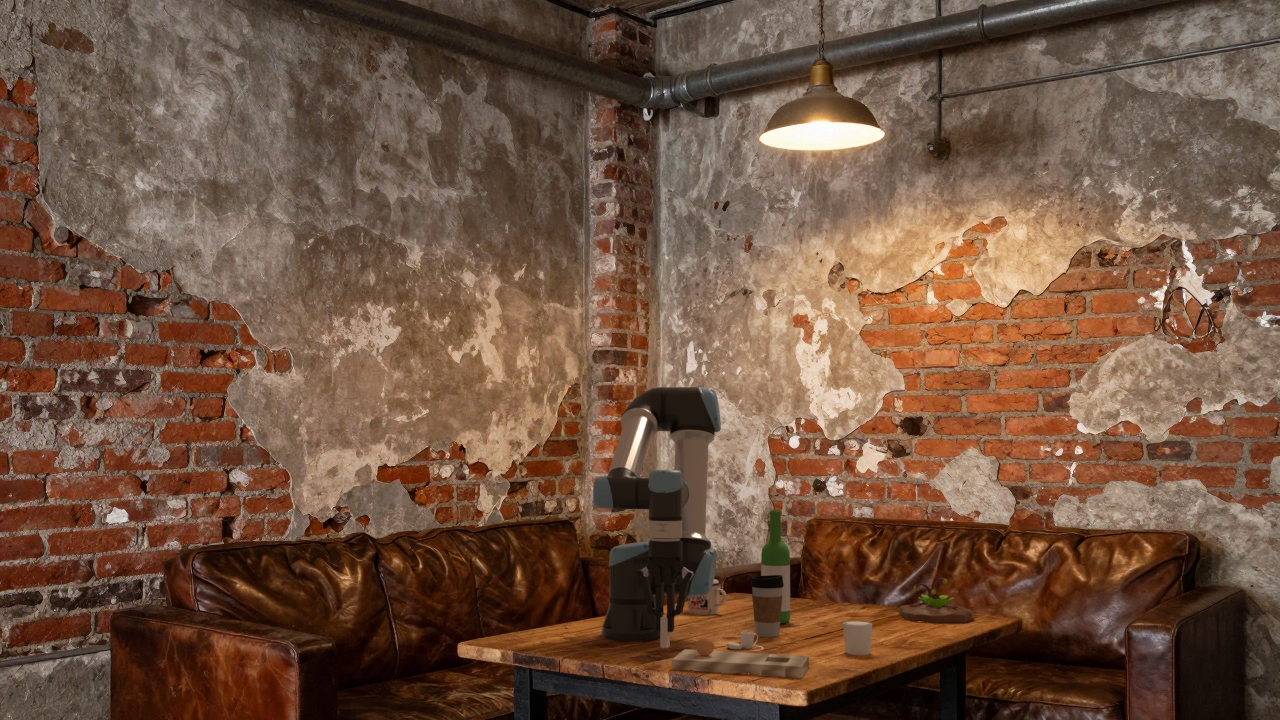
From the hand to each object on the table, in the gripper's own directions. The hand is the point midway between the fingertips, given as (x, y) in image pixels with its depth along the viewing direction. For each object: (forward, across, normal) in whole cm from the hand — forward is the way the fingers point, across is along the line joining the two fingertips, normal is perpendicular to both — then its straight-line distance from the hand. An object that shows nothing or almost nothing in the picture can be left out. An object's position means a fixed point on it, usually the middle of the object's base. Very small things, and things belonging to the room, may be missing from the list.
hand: (665, 646), depth 256 cm
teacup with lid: (+4, -6, +73) cm, 73 cm away
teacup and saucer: (+5, +11, +26) cm, 28 cm away
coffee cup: (+4, +16, +43) cm, 46 cm away
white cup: (+4, +40, +26) cm, 48 cm away
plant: (+4, +57, +86) cm, 103 cm away
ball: (0, +9, 0) cm, 9 cm away
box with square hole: (+4, +17, 0) cm, 17 cm away
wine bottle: (+4, +15, +64) cm, 66 cm away
